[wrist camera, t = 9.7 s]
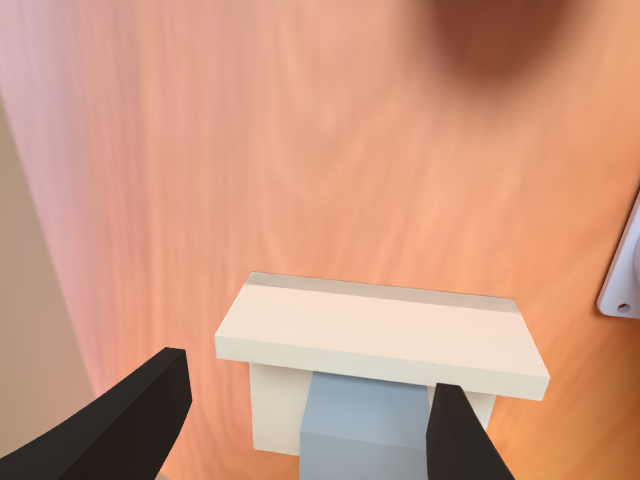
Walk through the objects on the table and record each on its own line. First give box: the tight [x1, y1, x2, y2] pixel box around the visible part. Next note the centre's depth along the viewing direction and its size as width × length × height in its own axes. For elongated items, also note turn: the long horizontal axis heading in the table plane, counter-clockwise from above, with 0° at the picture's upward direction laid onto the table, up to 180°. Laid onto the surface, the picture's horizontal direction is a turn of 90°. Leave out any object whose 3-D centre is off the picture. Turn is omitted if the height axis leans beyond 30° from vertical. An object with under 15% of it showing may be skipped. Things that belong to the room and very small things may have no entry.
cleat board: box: [215, 272, 550, 456], centre depth 21 cm, size 13×12×5 cm
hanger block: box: [299, 371, 430, 480], centre depth 20 cm, size 5×7×6 cm
